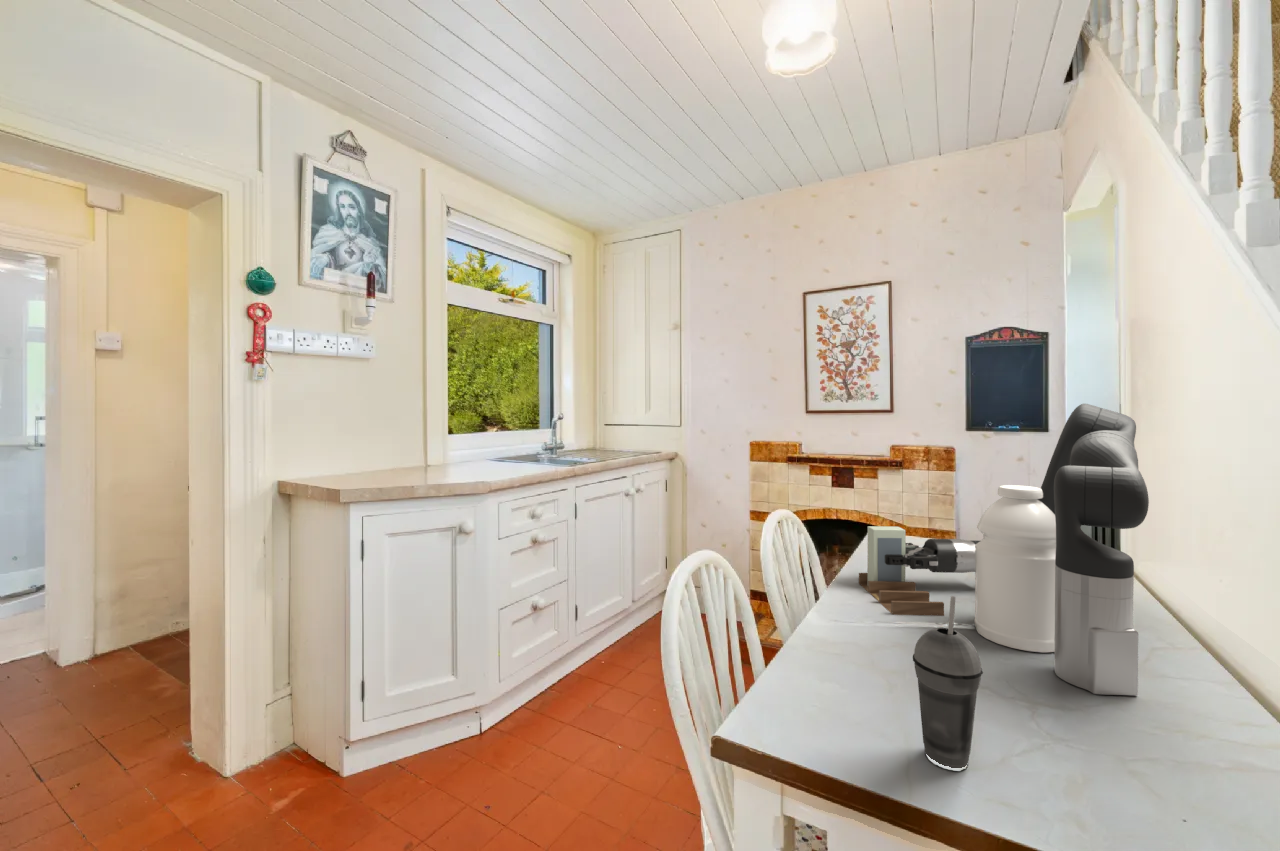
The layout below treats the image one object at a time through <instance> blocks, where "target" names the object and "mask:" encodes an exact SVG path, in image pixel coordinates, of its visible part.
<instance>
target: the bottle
mask: <svg viewBox="0 0 1280 851" xmlns="http://www.w3.org/2000/svg"><path fill="white" fill-rule="evenodd" d="M997 495H998V496H1000V498H999V499H997V500H995V501H994V502H993V503H992V504H990V506H989V507H988V508H986V510H985V511H984V512H983V514H982V515H981V516H980V518H979V520H978V523H977V525H976V528H977V530H978V531H979V532H980V533H981V534H983V536H982V537H983V538H982V539H981V540H979V541H980V542H978V543H977V544H976V545H975V572H974V574H975V575H974V576H975V577H974V579H975V581H974V582H975V583H974V586H975V588H974V589H975V590H974V592H975V593H974V598H975V601H974V602H975V604H974V606H975V610H974V615H975V616H974V618H973V621H974V626H975V630H976V631H977V633H978V634H979V635H981V636H982V637H984V638H985V639H986V640H989V641H991V642H993V643H996V644H998V645H1000V646H1005V647H1008V648H1011V649H1015V650H1021V651H1026V652H1033V653H1034V652H1035V653H1045V654H1046V653H1055V647H1054V637H1055V565H1056V564H1055V557H1056V520H1055V514H1054V513H1053V512H1052V511H1051V510H1050V509H1049V508H1048V507H1047V506H1046V505H1044V504H1043V503H1042V502H1041V501H1039V500H1038V499H1042V498H1043V491H1042V489H1041V487H1036V486H1030V485H1018V484H1016V485H1015V484H1003V485H1000V486H998V489H997Z"/></svg>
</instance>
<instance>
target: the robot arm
mask: <svg viewBox="0 0 1280 851" xmlns="http://www.w3.org/2000/svg"><path fill="white" fill-rule="evenodd" d="M1136 434H1137V425H1136V422H1135V420H1134V419H1133V418H1132V417H1131V416H1128V415H1126V414H1123V413H1120V412H1116V411H1113V410H1110V409H1108V408H1102V407H1100V406H1097V405H1093V404H1089V403H1080V404H1079V405H1078V406H1076V407H1075V408H1074V409H1073V411H1072V412H1071V413H1070V415H1069V417H1068V418H1067V420H1066V422H1065V425H1064V426H1063V428H1062V431H1061V434H1060V435H1059V438H1058V441H1057V442H1056V446H1055V448H1054V450H1053V453H1052V456H1051V459H1050V461H1049V464H1048V467H1047V469H1046V473H1045V475H1044V479H1043V482H1042V484H1041V487H1040V488H1041V489H1042V491H1043V498H1042V499H1038V500H1039V501H1041V502H1042V503H1043V504H1044V505H1046V506H1047V507H1048V508H1049V509H1050V510H1051V511H1052V512H1053V513H1054V514H1055V520H1056V557H1055V564H1056V565H1055V637H1054V647H1055V652H1054V667H1053V668H1054V671H1053V672H1054V673H1055V675H1056V676H1057V677H1058V678H1060V679H1061V680H1063V681H1065V682H1066V683H1068V684H1071V685H1073V686H1075V687H1078V688H1080V689H1084V690H1086V691H1088V692H1090V693H1092V694H1094V695H1110V696H1113V695H1114V696H1138V695H1139V638H1140V637H1139V632H1138V631H1137V630H1135V629H1134V588H1135V587H1134V583H1135V582H1134V580H1135V579H1134V577H1135V575H1134V574H1135V565H1134V560H1133V558H1132V557H1131V556H1130V555H1129V554H1127V553H1125V552H1123V551H1121V550H1119V549H1116V548H1113V547H1111V546H1109V545H1107V544H1103V543H1101V542H1099V541H1097V540H1095V539H1093V538H1092V537H1090V536H1089V535H1088V534H1086V533H1085V532H1084V531H1083V530H1082V526H1087V527H1096V528H1107V529H1115V530H1117V529H1118V530H1128V529H1135V528H1138V527H1139V526H1141V524H1143V522H1144V521H1145V519H1146V517H1147V514H1148V511H1149V504H1150V500H1149V493H1148V488H1147V484H1146V482H1145V478H1144V477H1143V475H1142V473H1141V471H1140V470H1139V458H1138V453H1137V450H1136V447H1135V438H1136ZM980 541H981V540H969V539H968V540H967V539H960V538H929V539H927V540H926V541H925V542H924V544H923V545H922V547H921V546H920V545H918V544H913V543H912V542H906V547H905V554H904V557H903V555H896V554H886V555H885V564H887V565H903V564H904V566H905V568H908V567H909V568H910V569H911V570H929V572H931V573H942V574H943V573H950V574H951V573H952V574H953V573H954V574H955V573H956V574H958V573H959V574H960V573H961V574H966V573H975V545H976V544H977V543H978V542H980Z"/></svg>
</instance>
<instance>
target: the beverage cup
mask: <svg viewBox="0 0 1280 851" xmlns="http://www.w3.org/2000/svg"><path fill="white" fill-rule="evenodd" d="M956 600H957V598H956V596H953V595H951V596H950V603H949V616H948V626H947V627H937V628H936V627H935V628H932V629H929V630H927V631H925V632H924V633H923V634H922V635H921V636H920V637H919V639H918V640H917V642H916V644H915V647H914V650H913V655H912V661H913V663H914V664H913V665H914V670H915V675H916V678H917V686H918V687H917V688H918V696H919V699H918V700H919V707H920V709H919V710H920V719H921V720H920V721H921V732H922V742H923V744H924V745H923V746H924V747H923V748H924V753H925V752H926V754H927V755H928V756H929V757H930V758H931V759H933V760H935V761H936V762H938V763H939V764H942V765H944V766H949V767H951V768H962V767H965V766H966V765H967V763H968V764H969V761H970V755H971V751H972V750H971V749H972V742H973V741H972V739H973V731H974V723H975V722H974V721H975V713H976V704H977V696H978V695H977V694H978V690H979V688H980V683H981V679H982V675H983V673H984V672H983V668H982V663H981V659H980V656H979V654H978V652H977V649H976V647H975V646H974V644H973V643H972V641H970V640H969V639H968V638H967V637H966V636H965V635H964V634H962V633H960V632H958V631H957V630H955V629H954V624H955V612H956Z"/></svg>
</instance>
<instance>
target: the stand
mask: <svg viewBox="0 0 1280 851" xmlns="http://www.w3.org/2000/svg"><path fill="white" fill-rule="evenodd" d="M858 584H859V586H861V587H862V588H863V589H864V590H865V591H867V593H868V594H869V595H871V596H872V597H873V598H874V599H875V600H876V601H877V602H878V603H879V604H880V605H882V606H883V608H885V609H886V610H887V611H888V612H889V613H890V614H891V615H897V616H898V615H899V616H930V617H931V616H939V617H940V616H941V617H945V602H943V601H930V592H929V591H928V590H927V591H926V590H916V582H915V581H905V582H902V581H868V585H867V572H858Z"/></svg>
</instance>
